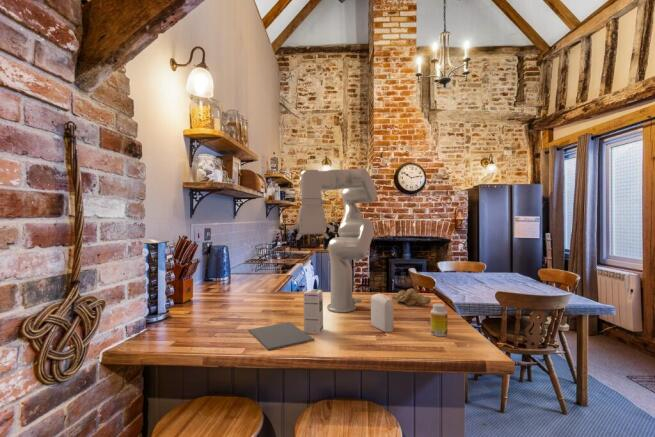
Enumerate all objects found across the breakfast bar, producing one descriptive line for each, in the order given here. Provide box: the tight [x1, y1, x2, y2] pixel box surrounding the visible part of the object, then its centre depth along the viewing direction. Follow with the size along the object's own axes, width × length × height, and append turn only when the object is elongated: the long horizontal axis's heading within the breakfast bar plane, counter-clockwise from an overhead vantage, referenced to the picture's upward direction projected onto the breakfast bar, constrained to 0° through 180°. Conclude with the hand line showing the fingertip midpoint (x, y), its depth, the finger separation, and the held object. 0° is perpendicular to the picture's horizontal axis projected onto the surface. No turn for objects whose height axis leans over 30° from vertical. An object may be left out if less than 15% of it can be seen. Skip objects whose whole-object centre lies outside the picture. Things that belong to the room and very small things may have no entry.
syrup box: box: [303, 288, 324, 335], centre depth 122 cm, size 6×6×14 cm
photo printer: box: [370, 293, 395, 333], centre depth 125 cm, size 10×4×12 cm, turn 26°
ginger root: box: [391, 287, 432, 307], centre depth 159 cm, size 16×16×8 cm
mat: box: [248, 321, 315, 351], centre depth 117 cm, size 16×20×1 cm
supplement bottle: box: [430, 303, 448, 337], centre depth 118 cm, size 6×6×10 cm
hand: (312, 249), depth 126 cm, fingers open, 9 cm apart
